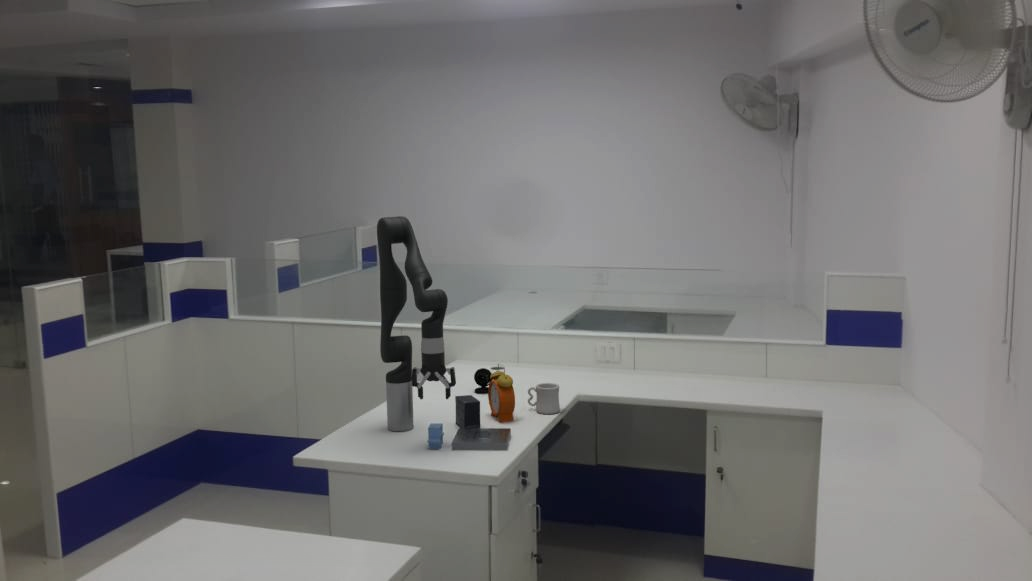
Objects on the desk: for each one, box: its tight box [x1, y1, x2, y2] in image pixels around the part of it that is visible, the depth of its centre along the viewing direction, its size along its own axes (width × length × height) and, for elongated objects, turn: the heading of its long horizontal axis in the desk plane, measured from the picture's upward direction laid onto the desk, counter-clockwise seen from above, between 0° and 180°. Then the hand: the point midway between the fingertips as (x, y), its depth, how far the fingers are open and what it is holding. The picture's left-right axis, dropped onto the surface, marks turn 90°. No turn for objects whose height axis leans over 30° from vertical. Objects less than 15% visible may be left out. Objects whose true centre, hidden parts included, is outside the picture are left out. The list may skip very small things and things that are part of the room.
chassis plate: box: [451, 427, 512, 451], centre depth 289 cm, size 16×18×2 cm
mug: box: [527, 382, 561, 415], centre depth 326 cm, size 12×9×10 cm
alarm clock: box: [487, 363, 516, 424], centre depth 316 cm, size 13×6×20 cm, turn 21°
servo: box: [426, 422, 445, 449], centre depth 286 cm, size 9×4×7 cm, turn 176°
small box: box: [455, 394, 481, 428], centre depth 307 cm, size 11×6×10 cm, turn 22°
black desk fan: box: [473, 367, 493, 395], centre depth 356 cm, size 8×8×10 cm
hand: (434, 398), depth 284 cm, fingers open, 8 cm apart
